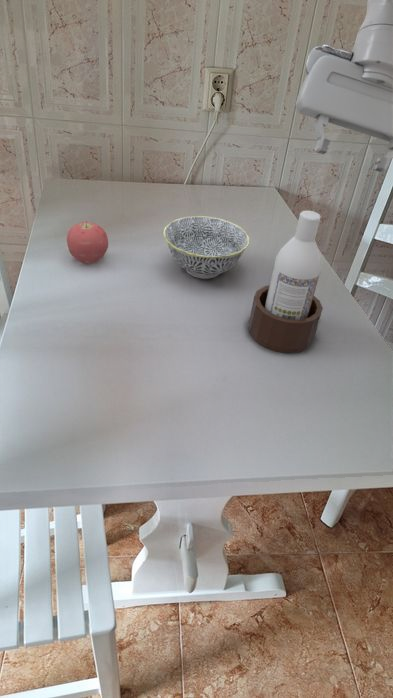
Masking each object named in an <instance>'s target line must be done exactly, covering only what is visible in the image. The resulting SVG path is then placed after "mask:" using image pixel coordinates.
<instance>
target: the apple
mask: <svg viewBox="0 0 393 698" xmlns="http://www.w3.org/2000/svg"><path fill="white" fill-rule="evenodd" d="M66 244H67V248H68V251H69V253H70V255H71V256H72V258H74V259H75V260H77V262H80V263H82V264H88V265H89V264H95V263H96V262H99V261H100V260H101V259H102V258H103V257H104V256H105V255H106V253H107V251H108V248H109V238H108V234H107V232H106V231H105V230H104V228H103V227H102V226H100V225H99V224H97V223H94V222H90V221H87V220H86V221H83V222H78V223H76V224H74V225H72V227H70V229H69V230H68V232H67V235H66Z"/></svg>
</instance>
